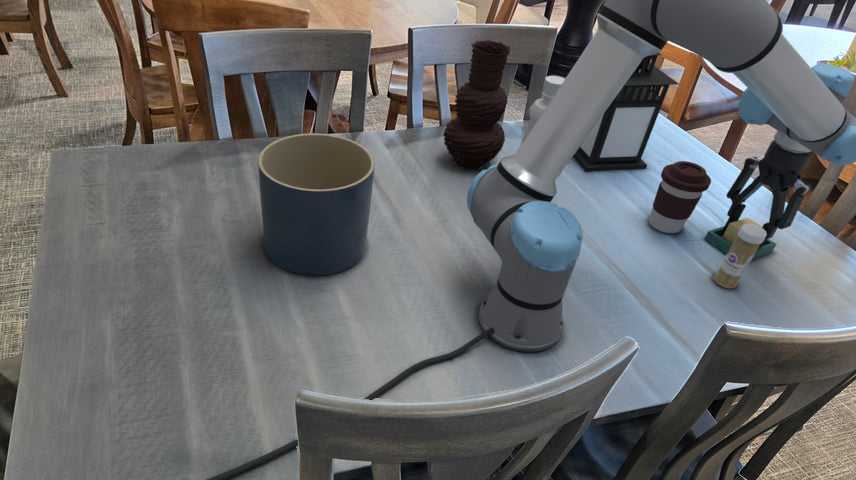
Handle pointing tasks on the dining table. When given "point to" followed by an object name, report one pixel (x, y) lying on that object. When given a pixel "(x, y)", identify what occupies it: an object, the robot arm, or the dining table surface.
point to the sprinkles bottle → (740, 255)
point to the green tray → (724, 246)
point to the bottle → (543, 101)
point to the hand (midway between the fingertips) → (741, 238)
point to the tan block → (736, 229)
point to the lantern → (626, 122)
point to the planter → (315, 202)
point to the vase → (479, 109)
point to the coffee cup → (678, 195)
